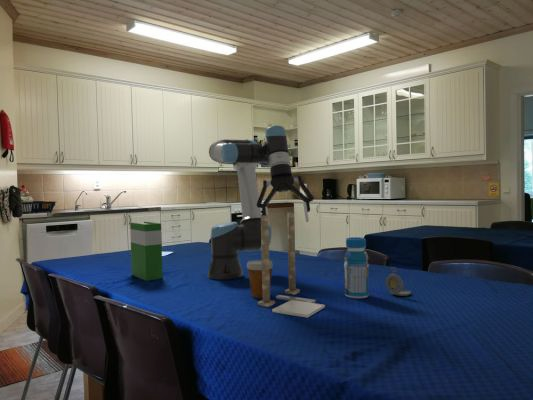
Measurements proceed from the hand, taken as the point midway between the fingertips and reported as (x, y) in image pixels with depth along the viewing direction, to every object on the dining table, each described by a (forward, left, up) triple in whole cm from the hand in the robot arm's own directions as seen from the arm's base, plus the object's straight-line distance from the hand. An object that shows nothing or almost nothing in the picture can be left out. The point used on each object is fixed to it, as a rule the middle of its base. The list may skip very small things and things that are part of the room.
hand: (288, 223), depth 143 cm
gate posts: (-2, -4, -25) cm, 26 cm away
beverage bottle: (+20, +11, -26) cm, 35 cm away
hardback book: (-74, +1, -26) cm, 78 cm away
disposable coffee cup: (-10, -4, -26) cm, 28 cm away
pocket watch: (+32, +19, -26) cm, 46 cm away
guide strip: (+4, -4, -25) cm, 26 cm away
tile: (+10, -13, -25) cm, 30 cm away
